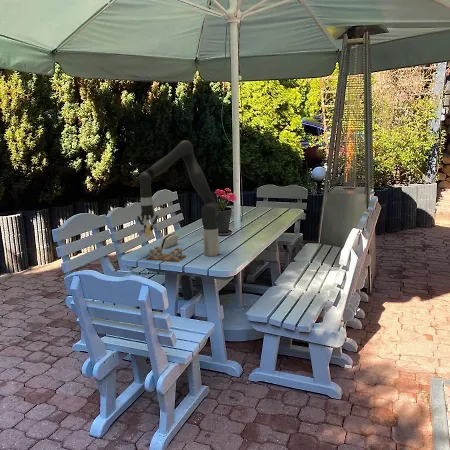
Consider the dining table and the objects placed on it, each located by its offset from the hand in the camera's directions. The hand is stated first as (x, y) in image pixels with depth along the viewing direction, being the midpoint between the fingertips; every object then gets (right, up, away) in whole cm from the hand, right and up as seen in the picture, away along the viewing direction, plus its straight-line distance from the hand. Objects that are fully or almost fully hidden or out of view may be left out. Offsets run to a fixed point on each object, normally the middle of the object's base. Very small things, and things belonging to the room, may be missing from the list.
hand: (148, 230), depth 292 cm
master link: (0, -2, 0) cm, 2 cm away
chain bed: (+11, -17, -3) cm, 21 cm away
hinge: (+10, -11, +27) cm, 31 cm away
